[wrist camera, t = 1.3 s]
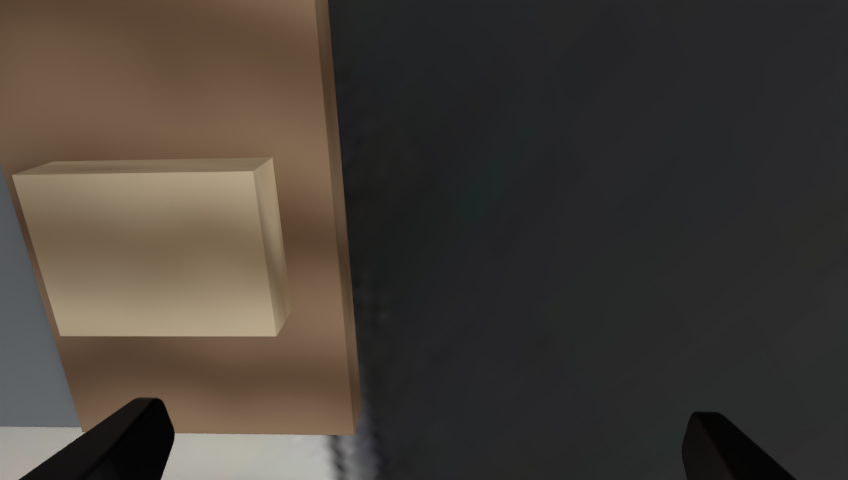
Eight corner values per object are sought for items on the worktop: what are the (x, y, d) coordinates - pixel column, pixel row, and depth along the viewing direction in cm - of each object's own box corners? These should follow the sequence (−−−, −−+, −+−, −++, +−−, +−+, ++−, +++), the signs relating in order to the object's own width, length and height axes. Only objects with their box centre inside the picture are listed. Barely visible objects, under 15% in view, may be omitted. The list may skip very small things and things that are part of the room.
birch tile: (292, 309, 22) (276, 336, 20) (93, 309, 22) (60, 336, 20) (272, 157, 19) (252, 171, 18) (53, 161, 20) (11, 175, 18)
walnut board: (361, 405, 25) (354, 435, 24) (109, 403, 26) (82, 431, 24) (325, -29, 19) (311, -35, 17) (-8, -17, 20) (-56, -21, 18)
